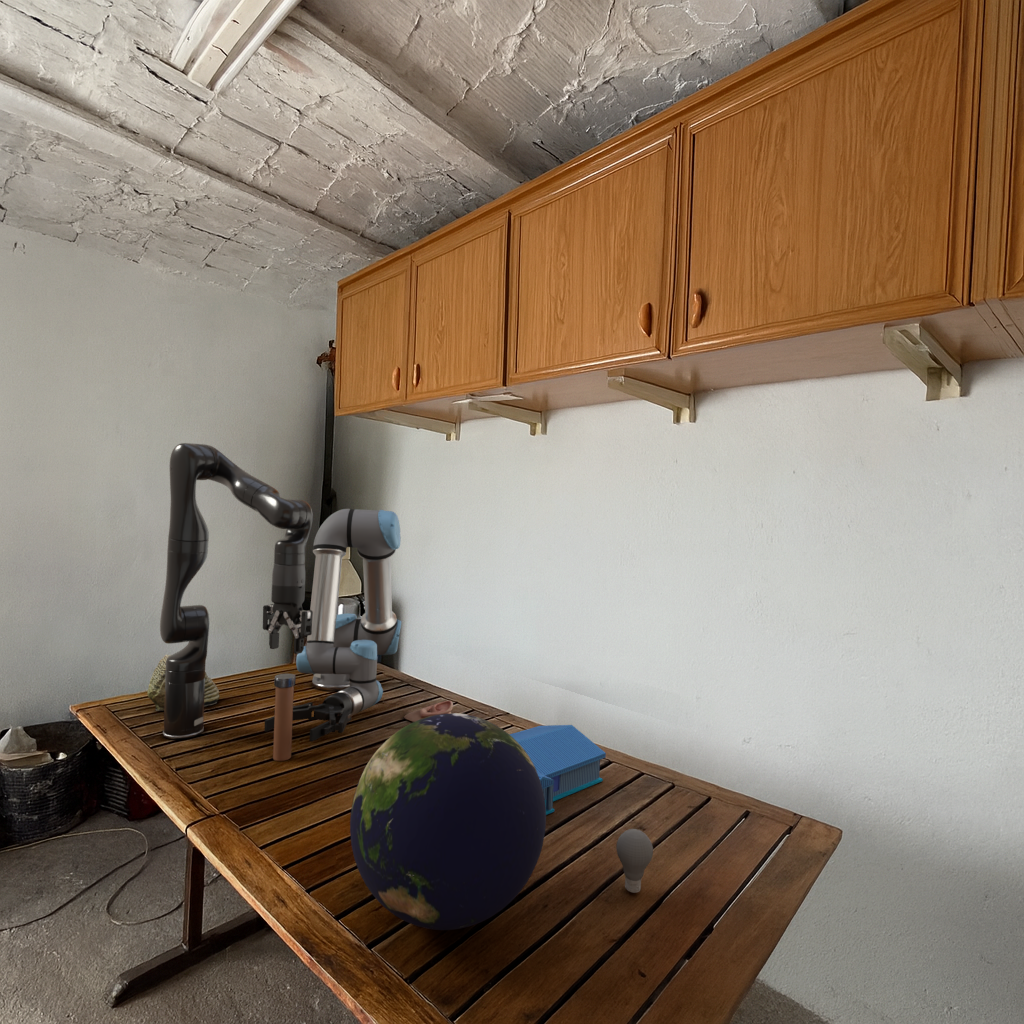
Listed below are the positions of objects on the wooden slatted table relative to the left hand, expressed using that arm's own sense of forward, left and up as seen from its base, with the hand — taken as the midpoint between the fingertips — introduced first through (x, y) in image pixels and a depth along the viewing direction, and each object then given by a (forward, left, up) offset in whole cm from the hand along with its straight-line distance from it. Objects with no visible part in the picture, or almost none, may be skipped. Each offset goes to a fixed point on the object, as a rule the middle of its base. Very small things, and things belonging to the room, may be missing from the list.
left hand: (286, 650), depth 152 cm
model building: (+47, +32, -26) cm, 63 cm away
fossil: (-51, -7, -26) cm, 58 cm away
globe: (+70, -4, -26) cm, 75 cm away
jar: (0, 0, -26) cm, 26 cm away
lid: (0, 0, -6) cm, 6 cm away
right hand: (0, +1, -19) cm, 19 cm away
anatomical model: (-2, +44, -26) cm, 52 cm away
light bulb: (+86, +23, -26) cm, 93 cm away
